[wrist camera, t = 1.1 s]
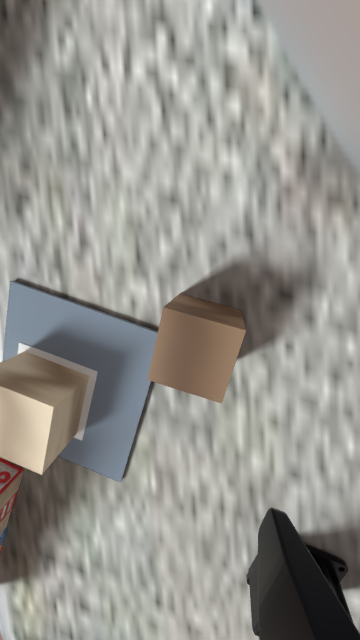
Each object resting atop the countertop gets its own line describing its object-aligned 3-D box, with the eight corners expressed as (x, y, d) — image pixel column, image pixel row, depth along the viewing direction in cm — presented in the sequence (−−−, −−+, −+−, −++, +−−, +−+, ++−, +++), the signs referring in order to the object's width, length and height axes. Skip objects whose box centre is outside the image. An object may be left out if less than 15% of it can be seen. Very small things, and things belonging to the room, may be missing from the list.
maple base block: (89, 375, 21) (53, 407, 17) (77, 433, 23) (41, 474, 18) (24, 351, 21) (-27, 375, 17) (17, 409, 23) (-31, 444, 19)
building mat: (165, 333, 19) (164, 335, 19) (122, 478, 24) (120, 483, 23) (14, 280, 20) (9, 281, 20) (-1, 428, 25) (-5, 431, 24)
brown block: (241, 310, 18) (246, 330, 13) (223, 366, 19) (221, 403, 14) (180, 293, 18) (163, 307, 14) (166, 349, 20) (147, 379, 15)
